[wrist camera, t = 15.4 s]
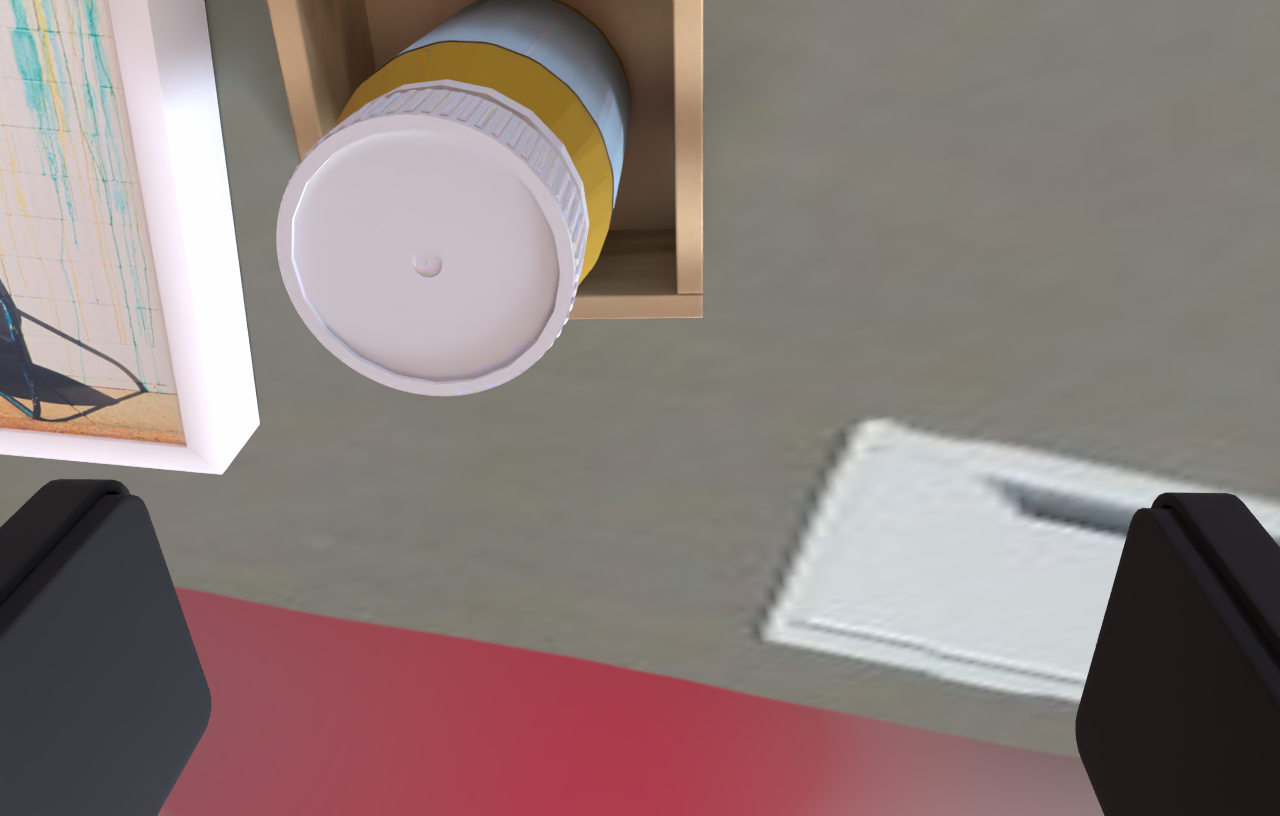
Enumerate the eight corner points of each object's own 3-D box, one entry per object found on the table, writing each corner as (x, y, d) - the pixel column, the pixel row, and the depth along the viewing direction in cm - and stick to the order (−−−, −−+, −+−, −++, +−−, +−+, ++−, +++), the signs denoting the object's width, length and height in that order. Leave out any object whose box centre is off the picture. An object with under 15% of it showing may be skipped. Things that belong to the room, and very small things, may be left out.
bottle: (404, 162, 34) (230, 354, 21) (454, -45, 31) (284, 31, 18) (593, 230, 35) (539, 454, 22) (662, 37, 32) (646, 166, 18)
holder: (329, -103, 30) (246, -93, 25) (700, -116, 30) (703, -109, 24) (388, 248, 36) (332, 322, 30) (700, 243, 36) (703, 318, 30)
